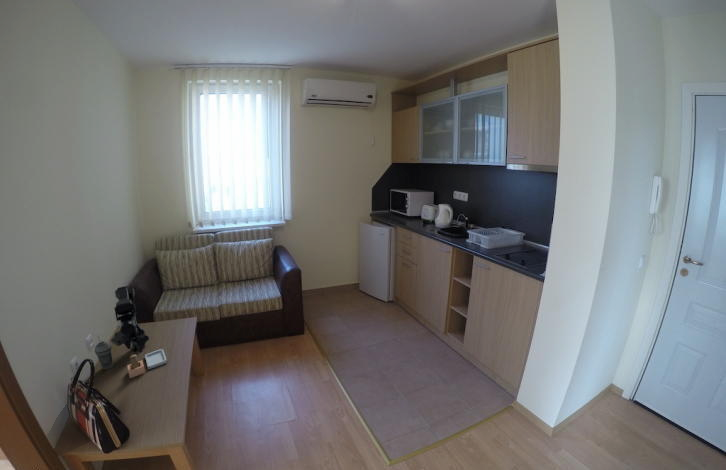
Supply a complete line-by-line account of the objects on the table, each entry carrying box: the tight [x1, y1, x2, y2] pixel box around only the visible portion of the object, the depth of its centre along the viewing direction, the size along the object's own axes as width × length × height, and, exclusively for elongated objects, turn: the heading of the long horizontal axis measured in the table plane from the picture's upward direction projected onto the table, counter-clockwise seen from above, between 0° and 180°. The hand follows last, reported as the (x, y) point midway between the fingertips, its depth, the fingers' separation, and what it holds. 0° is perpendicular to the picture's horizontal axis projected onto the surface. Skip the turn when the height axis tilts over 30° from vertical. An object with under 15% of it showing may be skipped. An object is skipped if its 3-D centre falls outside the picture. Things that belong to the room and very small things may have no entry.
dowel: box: [129, 354, 139, 369], centre depth 169 cm, size 3×3×10 cm
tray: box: [144, 348, 168, 370], centre depth 179 cm, size 14×9×2 cm, turn 40°
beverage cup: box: [94, 334, 114, 370], centre depth 172 cm, size 7×7×20 cm
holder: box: [127, 359, 146, 379], centre depth 169 cm, size 7×7×4 cm
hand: (135, 350), depth 167 cm, fingers open, 9 cm apart
